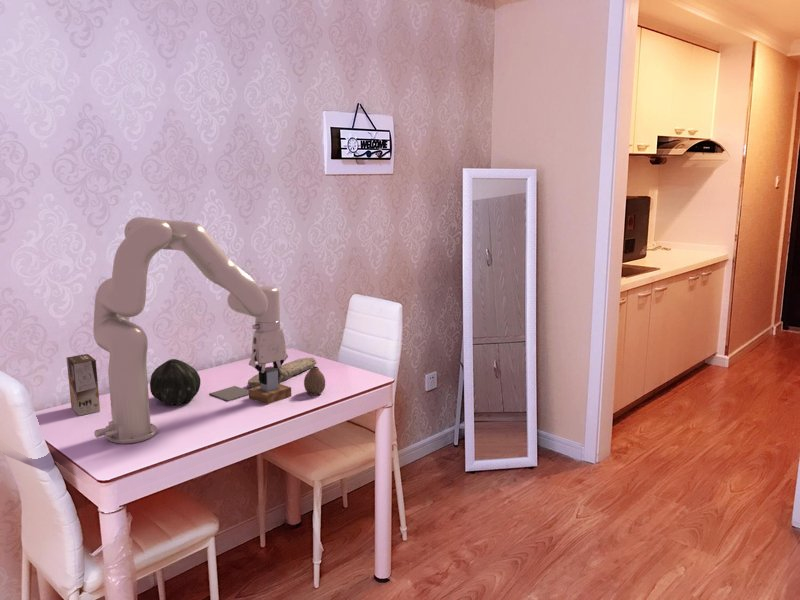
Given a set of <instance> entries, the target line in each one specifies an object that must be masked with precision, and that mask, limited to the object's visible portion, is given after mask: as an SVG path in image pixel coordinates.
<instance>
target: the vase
mask: <svg viewBox="0 0 800 600" xmlns="http://www.w3.org/2000/svg"><path fill="white" fill-rule="evenodd" d="M303 387H304V390H305V392H306V393H307V394H308V395H311V396H319V395H321V394H322V393H323V392H324V391H325V389H326V379H325V376H324V374H323V373H322V372H321V370H320V368H319V367H318V366H314V367H311V368H310V369H308V372H307V373H306V375H305V376H304V380H303Z"/></svg>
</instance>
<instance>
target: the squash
mask: <svg viewBox="0 0 800 600" xmlns="http://www.w3.org/2000/svg"><path fill="white" fill-rule="evenodd" d="M149 380H150V381H149V389H150V394H151V395H152V396H153V398H154V399H156V400H158V401H159V402H162V403H164V404H166V405H167V406H172V405H174V404H175V405H181V404H182V403H188V402H191V401H192V400H193V399H194V398H195V396H197V395H198V393H199V391H200V388H201V377H200V374H199V373H198V371H197V370H196V369H195V368H194V367H193V366H191V365H190V364H188V363H186V362H184V361H182V360H180V359H176V358H171V359H168V360H166V361H165V362H163V363H161V364H160V365H159V366H157V368H155V369H154V370H153V372H152V374H151V376H150V379H149Z"/></svg>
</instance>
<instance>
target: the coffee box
mask: <svg viewBox="0 0 800 600" xmlns="http://www.w3.org/2000/svg"><path fill="white" fill-rule="evenodd" d="M66 366H67V376H68V377H67V378H68V388H69V397H70V406H71V410H72V411H74V412H75V414H77V416H79V417H80V416H84V415H89V414H94V413H99V412H100V411H101V407H100V405H101V404H100V393H99V391H100V390H99V383H98V382H99V381H98V369H97V360H96V359H95V358H94V357H92V356H91V355H90V354H88V353H85V354H78V355H72V356H68V357H66Z"/></svg>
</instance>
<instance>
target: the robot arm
mask: <svg viewBox="0 0 800 600" xmlns="http://www.w3.org/2000/svg"><path fill="white" fill-rule="evenodd" d="M123 230H124V232H123V233H124V237H125V238H124V239H123V240H122V241H121V243H120V244H119V246H118V247H117V248H116V251H115V254H114V258H113V266H112V274H111V277H110V278H107V279H105V280H104V281H103V282H102V283H100V285H99V286H98V288H97V291H96V293H95V299H94V308H93V309H94V312H93V329H92V330H93V339H94V341H95V343H96V345H97V346H99V348H101V349H103V350H104V351H106V352H108V353H109V362H108V367H107V368H108V370H107V371H108V373H107V374H108V386H109V399H110V411H111V420H110V421H108V425H106V426H105V427H103V428H100V429H99V428H98V429H95V430H94V431H93V432H94V436H95V438H99V437H103V436H104V438H107V440H108V441H109V442H112V443H115V444H123V445H125V444H134V443H140V442H143V441H145V440H149V439H151V438H153V437H154V436H156V434H158V428H157V425H155V423H154V424H153V423H151V413H150V412H151V411H150V400H149V398H150V396H149V386H148V385H149V384H148V371H147V370H148V369H147V368H148V367H147V357H148V347H149V341H148V337H147V334H146V332H145V330H144V329H143V328H142V327H141V326H139V325H138V324H136V323H134V322H132V321H130V318H131V317H132V318H133V317H137V316H139V315H140V314H141V313H142V312H143V311H144V309H145V307H146V300H147V299H146V298H147V284H148V283H147V282H148V270H149V265H150V262H151V260H152V259H153V257H154V256H155V255H156V254H157V253H159V251H161V250H171V251H174V250H175V251H180V252H183V253H184V254H185V255H186V256H187V257H188V259H190V261H192V263H193V265H194V266H196V268H197V269H198V270H199V271H200V272H201V274H202V275H204V278H206V279H208V280H209V281H210V282H212V283H213V284H215V285H217V286H219V287H221V288H223V289H225V290H226V291H228V292H229V294H228V296H227V304H228V307H229V308H230V309H231V310H232V311H234V312H237V313H239V314H242V315H246V316H249V317H254V319H255V321H254V324H252V325H251V326H252V329H253V330H254V331H253V336H252V345H251V350H252V351H251V358H250V360H249V362H248V365H249V366H251V367H252V368H254V369H255V370H256V371H257V372H258V374H259V381H260V383H262V384H264V385H265V384H267V381H266V372H265V367H266V364H270V363H272V367H274V368H277V369H278V381H279V377H280V371H279V369H280V368H281V365H284V362H285V361H286V360H287V359H288V358H289V355H288V354H287V350H286V348H287V347H286V346H287V345H286V339H285V334H284V330H283V328H281V319H280V318H281V317H280V316H281V315H280V313H281V312H280V290H279V288H277V287H275V286H270V285H269V286H267V285H265V286H259V284H257V282H256V281H255V280H254V279H253V278H252V277H251V276H250V275H248V273H247V272H245V271H244V270H243V269H242V268H241V267H239V266H238V265H237V264H236V263H235V262H233V261H232V260H231V259H230V257H228V256H227V254H226V253H225V252H224V251H223V250H222V248H221V247H220V246H219V244H217V242H216V241H215V240H214V239H213V237H212V236H211V234H210V233H208V231H207V230H206V229H205V228H204V227H203V226H202V225H200V224H199V223H196V222H189V221H183V220H182V221H181V220H180V221H179V220H168V219H159V218H154V217H144V216H137V217H134V218H131V219H130V220H129V221H128V222H127V223H126V225H125V226H124V229H123ZM256 362H257V363H256Z"/></svg>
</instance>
